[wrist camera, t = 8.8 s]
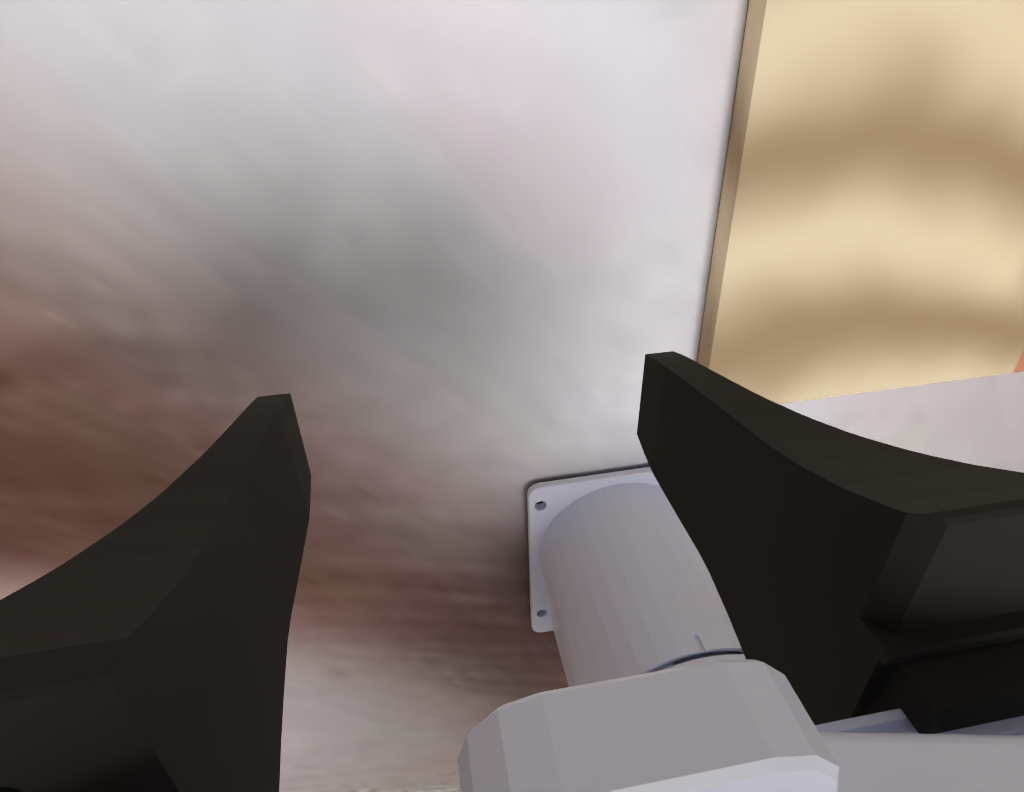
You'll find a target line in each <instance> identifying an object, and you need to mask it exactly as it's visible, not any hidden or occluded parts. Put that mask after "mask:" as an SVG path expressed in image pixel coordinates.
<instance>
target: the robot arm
mask: <svg viewBox="0 0 1024 792" xmlns="http://www.w3.org/2000/svg"><path fill="white" fill-rule="evenodd" d="M637 435H638V438H639V440H640V443H641V446H642V448H643V451H644V454H645V456H646V458H647V461H648V463H649V466H650V467H644V468H637V469H631V470H624V471H617V472H610V473H603V474H596V475H589V476H582V477H575V478H568V479H561V480H554V481H547V482H540V483H536V484H533V485H532V486H530V488H529V489H528V492H527V507H528V542H529V577H530V613H531V625H532V629H533V630H534V631H535V632H547V631H554V635H555V638H556V642H557V646H558V649H559V653H560V657H561V661H562V664H563V668H564V672H565V675H566V679H567V683H568V686H569V687H567V688H561V689H556V690H550V691H545V692H539V693H536V694H533V695H530V696H528V697H525V698H522V699H519V700H516V701H513V702H510V703H507V704H504V705H501V706H500V707H498V708H497V709H496V710H494V711H493V712H492V713H491V714H489V715H488V716H487V717H486V718H484V719H483V720H482V721H480V722H479V723H478V724H477V725H475V726H474V727H473V728H472V729H471V730H470V731H469V733H468V734H467V735H466V738H465V741H464V744H463V747H462V750H461V753H460V756H459V759H458V763H459V773H460V782H461V789H459V790H457V791H454V792H1024V473H1021V472H1015V471H1008V470H1002V469H996V468H989V467H983V466H977V465H972V464H967V463H962V462H957V461H953V460H948V459H943V458H939V457H934V456H929V455H925V454H921V453H917V452H913V451H909V450H905V449H902V448H898V447H895V446H891V445H888V444H884V443H881V442H877V441H874V440H871V439H867V438H864V437H861V436H858V435H855V434H852V433H849V432H846V431H843V430H840V429H838V428H835V427H832V426H830V425H827V424H824V423H822V422H819V421H816V420H814V419H811V418H809V417H806V416H804V415H801V414H799V413H797V412H795V411H792V410H790V409H788V408H786V407H784V406H781V405H779V404H777V403H775V402H773V401H770V400H768V399H766V398H764V397H762V396H760V395H758V394H756V393H754V392H752V391H750V390H748V389H746V388H744V387H743V386H741V385H739V384H737V383H735V382H733V381H731V380H729V379H727V378H725V377H724V376H722V375H720V374H718V373H716V372H714V371H712V370H710V369H709V368H707V367H705V366H703V365H701V364H699V363H697V362H695V361H693V360H691V359H689V358H687V357H685V356H683V355H681V354H678V353H676V352H673V351H672V352H663V353H654V354H645V363H644V373H643V382H642V392H641V401H640V410H639V420H638V429H637ZM310 491H311V473H310V469H309V465H308V461H307V457H306V454H305V450H304V446H303V442H302V438H301V434H300V430H299V426H298V422H297V418H296V414H295V410H294V406H293V403H292V399H291V395H290V393H289V394H280V395H271V396H262V397H257V398H256V399H255V400H254V401H253V402H252V403H251V404H250V405H249V406H248V407H247V408H246V409H245V411H244V412H243V413H242V414H241V415H240V416H239V417H238V418H237V419H236V420H235V421H234V422H233V424H232V425H231V426H230V427H229V428H228V429H227V430H226V431H225V432H224V433H223V434H222V435H221V436H220V437H219V438H218V439H217V440H216V442H215V443H214V444H213V445H212V446H211V447H210V448H209V449H208V450H207V451H206V452H205V453H204V454H203V455H202V456H201V457H200V458H199V459H198V460H197V461H196V462H195V463H194V464H192V465H191V466H190V467H189V468H188V469H187V470H186V471H185V472H184V473H183V474H182V475H181V476H180V477H179V478H178V479H176V480H175V481H174V482H173V483H172V484H171V485H170V486H169V487H168V488H167V489H166V490H164V491H163V492H162V493H161V494H160V495H159V496H158V497H156V498H155V499H154V500H153V501H151V502H150V503H149V504H148V505H147V506H145V507H144V508H143V509H141V510H140V511H139V512H138V513H136V514H135V515H134V516H132V517H131V518H130V519H128V520H127V521H126V522H125V523H123V524H122V525H121V526H119V527H118V528H116V529H115V530H114V531H112V532H111V533H109V534H108V535H106V536H105V537H103V538H102V539H100V540H99V541H97V542H96V543H94V544H93V545H91V546H90V547H88V548H87V549H85V550H84V551H82V552H81V553H79V554H78V555H76V556H75V557H73V558H72V559H70V560H69V561H67V562H66V563H64V564H62V565H61V566H59V567H58V568H56V569H54V570H53V571H51V572H49V573H47V574H46V575H44V576H42V577H41V578H39V579H37V580H36V581H34V582H32V583H30V584H29V585H27V586H25V587H23V588H21V589H20V590H18V591H16V592H14V593H12V594H11V595H9V596H7V597H5V598H3V599H1V600H0V792H279V779H280V754H281V732H282V715H283V697H284V682H285V668H286V655H287V642H288V633H289V626H290V619H291V613H292V608H293V603H294V597H295V592H296V587H297V582H298V576H299V571H300V566H301V561H302V556H303V550H304V545H305V539H306V534H307V528H308V522H309V512H310ZM540 501H544V502H543V503H541V504H536V503H537V502H540Z"/></svg>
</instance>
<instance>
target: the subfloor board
mask: <svg viewBox="0 0 1024 792" xmlns="http://www.w3.org/2000/svg"><path fill="white" fill-rule="evenodd" d="M697 363H699V364H701V365H703V366H705V367H707V368H709V369H710V370H712V371H714V372H716V373H718V374H720V375H722V376H724V377H725V378H727V379H729V380H731V381H733V382H735V383H737V384H739V385H741V386H743V387H744V388H746V389H748V390H750V391H752V392H754V393H756V394H758V395H760V396H762V397H764V398H766V399H768V400H770V401H773V402H775V403H777V404H782V403H789V402H797V401H804V400H812V399H819V398H827V397H834V396H842V395H849V394H857V393H864V392H871V391H879V390H886V389H894V388H901V387H909V386H916V385H924V384H931V383H939V382H946V381H953V380H961V379H968V378H976V377H983V376H991V375H998V374H1006V373H1013V372H1021V371H1024V0H749V6H748V13H747V20H746V27H745V34H744V41H743V48H742V55H741V61H740V68H739V75H738V82H737V89H736V96H735V103H734V110H733V117H732V124H731V131H730V138H729V144H728V151H727V158H726V165H725V172H724V179H723V186H722V193H721V200H720V207H719V214H718V221H717V227H716V234H715V241H714V248H713V255H712V262H711V269H710V276H709V283H708V290H707V297H706V303H705V310H704V317H703V324H702V331H701V338H700V345H699V352H698V359H697Z"/></svg>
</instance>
